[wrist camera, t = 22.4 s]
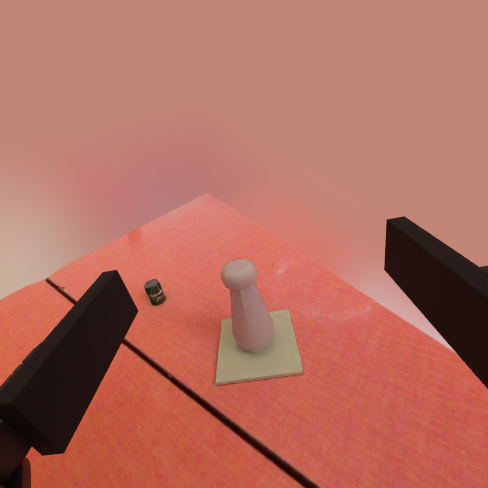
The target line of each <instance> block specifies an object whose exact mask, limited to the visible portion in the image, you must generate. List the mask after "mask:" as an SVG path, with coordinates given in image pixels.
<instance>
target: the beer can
mask: <svg viewBox="0 0 488 488" xmlns="http://www.w3.org/2000/svg"><path fill="white" fill-rule="evenodd" d="M144 287H145V291H146V293H147V295H148V297H149V299H150V301H151V303H152V304H153V305H159V304H161V303H163V302H164V301H165V298H166V297H165V294H164V292H163V290H162V287H161V285H160V283H159V282H158V280H157V279H152V280H149V281H148V282H146V283H145V285H144Z"/></svg>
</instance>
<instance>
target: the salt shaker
mask: <svg viewBox="0 0 488 488" xmlns="http://www.w3.org/2000/svg"><path fill="white" fill-rule="evenodd" d="M221 278H222V281H223V283H224V285H225V286H226V288H228V289H230V295H231V315H232V334H233V336H234V338H235V341H236V342H237V344H238V345H239V346H241V347H242V348H243V349H244V350H246V351H249V352H252V353H255V354H256V353H258V352H260V351H262V350H264V349H266V348H268V346H269V342H270V340H271V338H272V336H273V334H274V323H273V320H272V318H271V316H270V314H269V312H268V310H267V307H266V305H265V303H264V301H263V299H262V297H261V295H260V292H259V290H258V288H257V286H256V284H255V281H256V279H257V271H256V267H255V265H254V264H253V263H252V262H251V261H249V260H246V259H236V260H232V261H230V262H229V263H227V264H226V265H225V266H224V267H223V268H222V271H221Z"/></svg>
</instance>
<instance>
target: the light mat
mask: <svg viewBox="0 0 488 488" xmlns="http://www.w3.org/2000/svg"><path fill="white" fill-rule="evenodd" d="M269 314H270V316H271V318H272V320H273V323H274V334H273V336H272V338H271V340H270V342H269V346H268V348H266V349H264V350H262V351H260V352H258V353H256V354H255V353H252V352H249V351H246V350H244V349H243V348H242V347H241V346H239V345H238V344H237V342H236V341H235V338H234V336H233V334H232V318H228V319H222V322H221V332H220V341H219V351H218V361H217V370H216V380H215V383H216V385H224V384H231V383H239V382H247V381H254V380H262V379H269V378H277V377H284V376H292V375H299V374H303V368H302V364H301V359H300V355H299V350H298V346H297V342H296V337H295V333H294V328H293V324H292V320H291V315H290V311H289V309H285V310H279V311H272V312H269Z"/></svg>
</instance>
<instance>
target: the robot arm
mask: <svg viewBox="0 0 488 488" xmlns="http://www.w3.org/2000/svg"><path fill="white" fill-rule="evenodd" d="M385 247H386V248H385V268H384V270H385V271H386V272H387V273H388V274H389V275H390V277H391V278H392V279H393V280H394V281H395V283H396V284H397V285H398V286H399V287H400V288H401V289H402V291H403V292H404V293H405V294H406V295H407V296H408V297H409V299H410V300H411V301H412V302H413V303H414V304H415V306H416V307H417V308H418V309H419V310H420V311H421V313H422V314H423V315H424V316H425V317H426V318H427V319H428V321H429V322H430V323H431V324H432V325H433V326H434V327H435V329H436V330H437V331H438V332H439V333H440V334H441V336H442V337H443V338H444V339H445V340H446V341H447V343H448V344H449V345H450V346H451V347H452V348H453V349H454V351H455V352H456V353H457V354H458V355H459V356H460V358H461V359H462V360H463V361H464V362H465V363H466V364H467V366H468V367H469V368H470V369H471V370H472V371H473V373H474V374H475V375H476V376H477V377H478V378H479V379H480V381H481V382H482V383H483V384H484V385H485V386H486V388H487V389H488V266H483V267H478V266H477V265H475V264H474V263H472V262H471V261H470V260H468V259H467V258H465V257H464V256H462V255H461V254H459V253H458V252H456V251H455V250H453V249H452V248H450V247H449V246H447V245H446V244H444V243H443V242H441V241H440V240H439V239H437V238H435V237H434V236H433V235H431V234H430V233H428V232H427V231H425V230H424V229H422V228H421V227H419V226H418V225H416V224H415V223H413V222H412V221H410V220H409V219H407V218H406V217H399V218H393V219H388V220H387V226H386V246H385ZM137 313H138V309H137V307H136V305H135V303H134V302H133V300H132V298H131V296H130V294H129V292H128V290H127V288H126V286H125V284H124V282H123V281H122V279H121V277H120V275H119V273H118V271H117V270H113V271H108V272H103V273H102V274H101V275H100V276H99V277H98V278H97V280H96V281H95V282H94V283H93V284H92V285H91V287H90V288H89V289H88V290H87V291H86V292H85V294H84V295H83V296H82V297H81V298H80V299H79V300H78V302H77V303H76V304H75V305H74V306H73V307H72V309H71V310H70V311H69V312H68V313H67V314H66V316H65V317H64V318H63V319H62V320H61V321H60V322H59V324H58V325H57V326H56V327H55V328H54V329H53V331H52V332H51V333H50V334H49V335H48V336H47V338H46V339H45V340H44V341H43V342H42V343H40V344H39V345H38V346H37V347H35V348H34V349H33V350H32V351H31V352H30V353H29V355H28V356H27V357H26V358H25V359H24V360H23V361H22V364H20V365H19V366H18V367H17V368H16V369H15V371H14V372H13V374H12V375H10V376H9V377H8V379H7V380H6V381H5V382H4V383H3V384H2V385H1V386H0V488H31V465H30V462H29V460H28V459H27V458H26V457H25V456H26V455H27V453H28V451H29V450H30V448H31V447H33V448H34V449H36V450H37V451H38V452H39V453H40V454H41V455H42V456H44V455H53V454H62V453H64V452H65V450H66V448H67V446H68V444H69V443H70V441H71V439H72V437H73V435H74V433H75V431H76V429H77V427H78V425H79V423H80V422H81V420H82V418H83V416H84V414H85V412H86V410H87V408H88V406H89V404H90V402H91V401H92V399H93V397H94V395H95V393H96V391H97V389H98V387H99V385H100V383H101V381H102V380H103V378H104V376H105V374H106V372H107V370H108V368H109V366H110V364H111V362H112V360H113V359H114V357H115V355H116V353H117V351H118V349H119V347H120V345H121V343H122V341H123V339H124V338H125V336H126V334H127V332H128V330H129V328H130V326H131V324H132V322H133V320H134V318H135V317H136V315H137Z"/></svg>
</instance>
